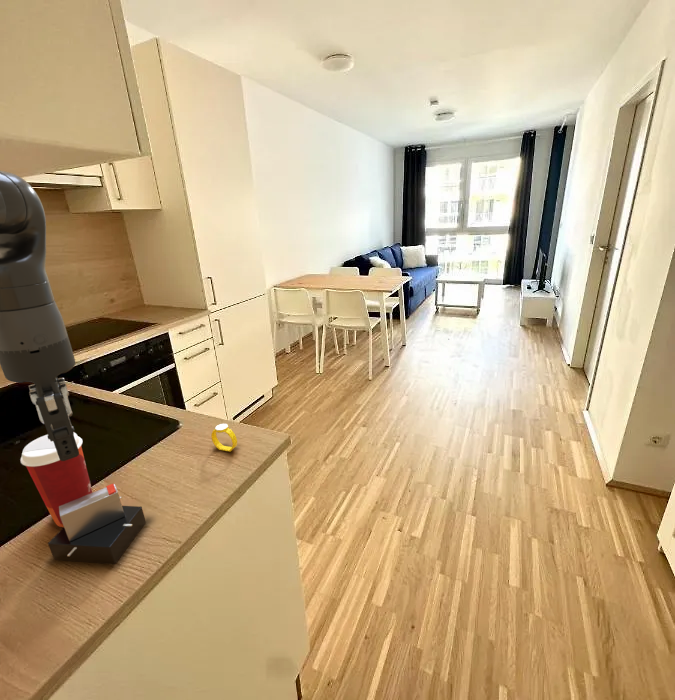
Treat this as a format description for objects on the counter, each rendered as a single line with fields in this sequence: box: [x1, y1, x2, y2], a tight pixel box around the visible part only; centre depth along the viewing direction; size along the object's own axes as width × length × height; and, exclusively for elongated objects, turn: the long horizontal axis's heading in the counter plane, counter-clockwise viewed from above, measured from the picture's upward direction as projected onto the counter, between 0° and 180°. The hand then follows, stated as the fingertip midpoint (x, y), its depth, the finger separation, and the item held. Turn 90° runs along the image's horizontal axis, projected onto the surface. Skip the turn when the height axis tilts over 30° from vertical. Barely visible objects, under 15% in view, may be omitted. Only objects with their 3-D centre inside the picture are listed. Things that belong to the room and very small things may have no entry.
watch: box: [210, 423, 238, 452], centre depth 80 cm, size 6×3×6 cm, turn 69°
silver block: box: [59, 483, 125, 541], centre depth 56 cm, size 8×3×5 cm, turn 130°
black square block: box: [47, 495, 147, 565], centre depth 58 cm, size 12×12×4 cm
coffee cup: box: [20, 432, 93, 528], centre depth 61 cm, size 8×8×15 cm
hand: (67, 443), depth 52 cm, fingers open, 8 cm apart
